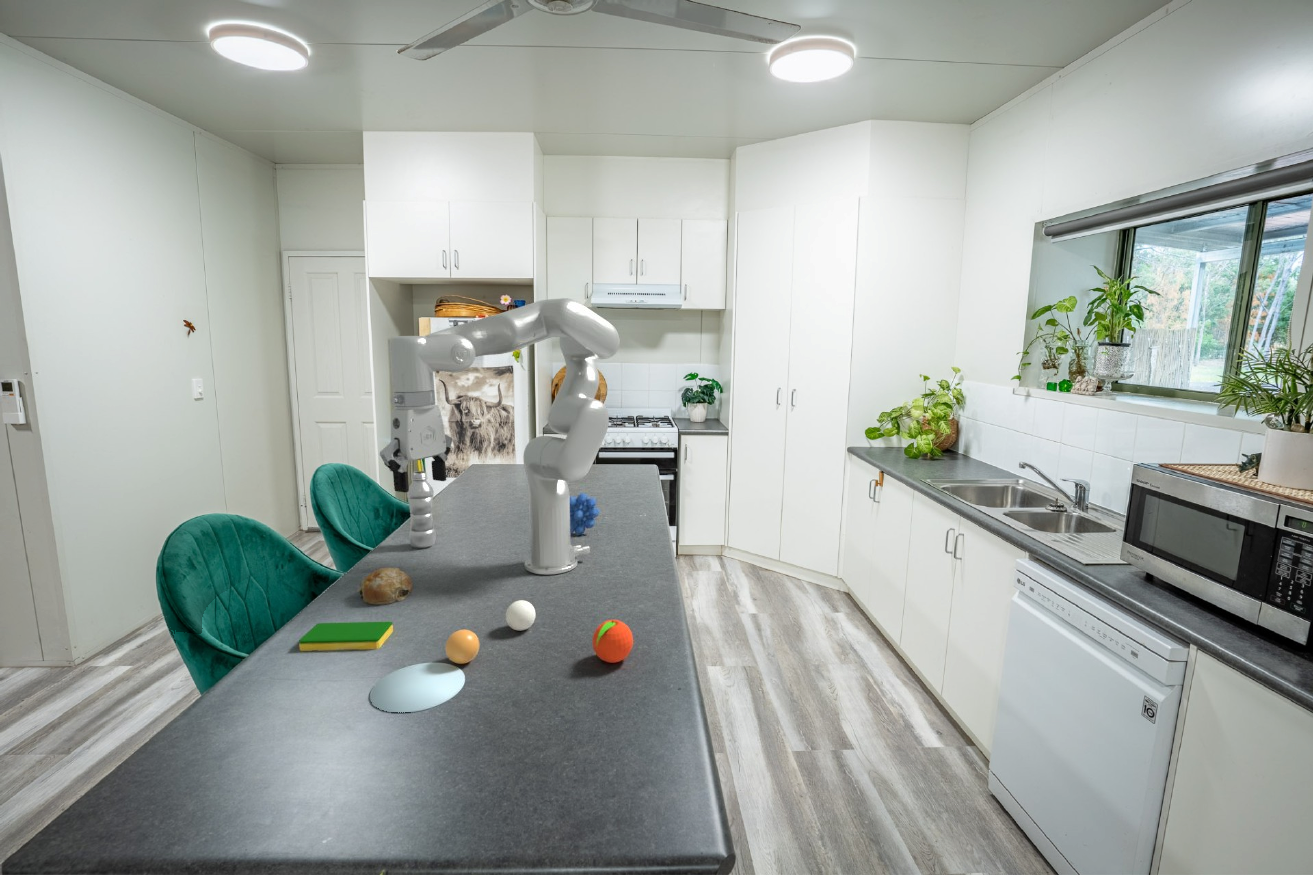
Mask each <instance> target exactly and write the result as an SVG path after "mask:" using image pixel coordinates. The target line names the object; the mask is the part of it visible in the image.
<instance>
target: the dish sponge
mask: <svg viewBox="0 0 1313 875" xmlns="http://www.w3.org/2000/svg"><path fill="white" fill-rule="evenodd" d="M393 632H394V626H393V622H392V621H364V622H363V621H362V622H361V621H356V622H355V621H353V622H320V623H316V624H315V625H314V626H313V627H312V628H311V629H309V631H307V633H305V635H303V636H302V637H301V638H300V639H299V640H298V643H299V645H298V646H299V651H301V652H304V651H305V652H306V651H307V652H308V651H309V652H311V651H312V650H318V651H339V650H338V649H359V650H378V649H380V648H381V647H382V646H383V644H384V643H385V642H386V641H387V640H388V638H389V637H390V636H391V635H392V633H393ZM327 649H329V650H327Z"/></svg>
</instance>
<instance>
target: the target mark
mask: <svg viewBox="0 0 1313 875" xmlns="http://www.w3.org/2000/svg"><path fill="white" fill-rule="evenodd" d="M465 683H466V676H465V673H464V672H463V669H461V668H459V667H458V666H455V665H453V664H450V663H444V662H424V663H417V664H413V665H409V666H405V667H402V668H399V669H397V670H394V671H392V672H390V673H388V674H387V675H385V676H384V677H382V678H381V679H379V680H378V681H377V682H376V683H375V684H374V685H373V686H372V688H371V690H370V694H369V700H370V703H371V702H372V703H371V704H372V706H374V708H376V707H377V709H378V708H379V709H378V710H381V711H382V710H384V711H383V712H386V711H387V713H391V712H398V713H397V714H406V713H405V712H411V713H417V712H422V711H425V710H426V711H427V710H429V709H432V708H435V707H438V706H441V704H444V703H446V702H448V701H450V700H451V699H452V698H454V697H455V696H457V694H458V693H460V692H461V690H462V689H463V687H464V685H465ZM399 712H400V713H399ZM401 712H402V713H401ZM403 712H404V713H403Z"/></svg>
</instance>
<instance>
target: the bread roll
mask: <svg viewBox="0 0 1313 875" xmlns="http://www.w3.org/2000/svg"><path fill="white" fill-rule="evenodd" d="M412 591H413V582H412V579H411V577H410V576H409V575H408V574H407V573H406V572H405V571H402V570H401V569H400V568H398V567H395V568H394V567H382V568H379V569H376V570H374V571H372V572H371V573H369V574H368V575H366V576H365V578H364V579H363V580H362V581H361V584H360V586H358V588H357V593H359V595H360V599H361V600H362V601H363V602H364V603H365V604H368V605H372V606H374V605H378V606H379V605H380V606H382V605H390V604H394V603H399V602H400V603H401V602H402V601H404V600H405V599H406V598H407V597H408V596H409V595H410V594H411V593H412Z"/></svg>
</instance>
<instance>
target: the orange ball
mask: <svg viewBox="0 0 1313 875" xmlns="http://www.w3.org/2000/svg"><path fill="white" fill-rule="evenodd" d="M479 650H480V639H479V637H478V636H477V634H476V633H475V632H474V631H472V630H469V629H459V630H457V631H454V632H453V633H452V634H450V636H449V637H448V638H447V641H446V643H445V653H446V656H447V658H448V659H449V660H450V661H451V662H453V663H456V664H459V665H460V664H461V665H464V664H467V663H469V662H471V661H472V660H474V659H475V658H476V657H477V655H478V652H479Z"/></svg>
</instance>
